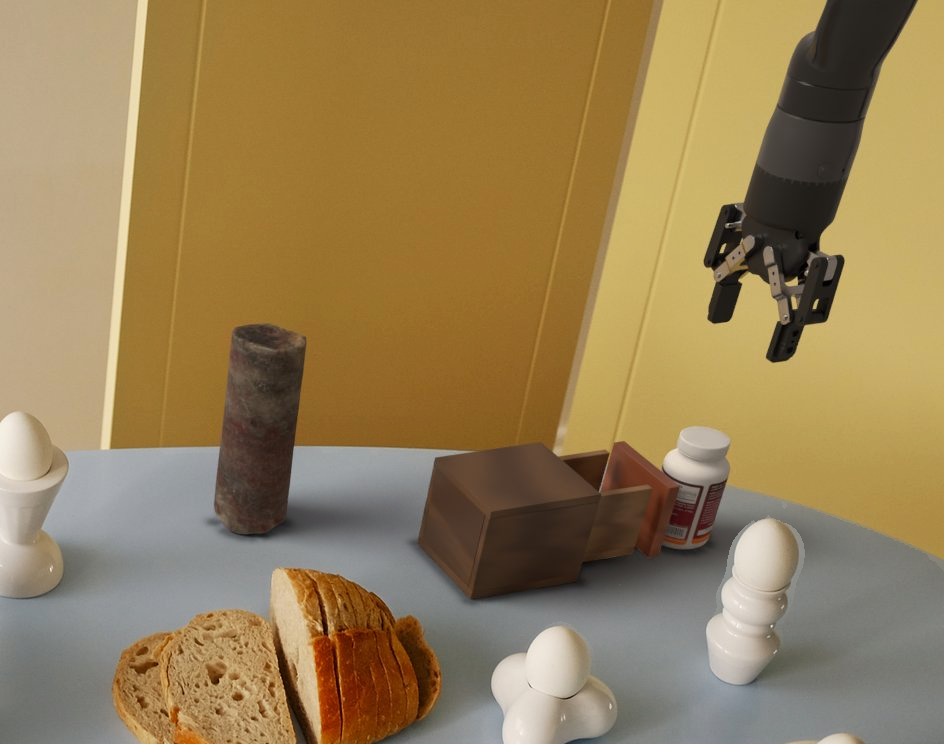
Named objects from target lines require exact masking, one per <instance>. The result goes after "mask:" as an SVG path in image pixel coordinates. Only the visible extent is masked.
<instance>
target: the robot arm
mask: <svg viewBox="0 0 944 744" xmlns="http://www.w3.org/2000/svg"><path fill="white" fill-rule="evenodd" d="M918 2H919V0H826V1H825V5H824V7H823V9H822V12H821V15H820V17H819V19H818V22H817V24H816V26H815V29H814V30H813V31H810V32H808V33H806V34H805V35H804V36H803V37H801V39H799V41H798V42H797V44H796V46H795V48H794V50H793V52H792V55H791V57H790V60H789V63H788V67H787V71H786V73H785V76H784V80H783V83H782V86H781V89H780V93H779V96H778V100H777V103H776V105H775V108H774V110H773V112H772V115H771V116H770V119H769V122H768V124H767V126H766V129H765V131H764V134H763V137H762V141H761V144H760V146H759V147H760V148H759V151H758V154H757V157H756V160H755V164H754V167H753V170H752V173H751V177H750V180H749V184H748V186H747V190H746V193H745V197H744V200H743V202H734V203H728V204H723V205H722V206H721V208H720V210H719V213H718V216H717V219H716V222H715V225H714V228H713V231H712V233H711V237H710V238H709V242H708V245H707V248H706V251H705V254H704V257H703V266H704V267H705V268H706V269H710V268H711V270H712V272H713V274H712V275H713V276H712V277H713V280H714V282H715V283H714V287H713V290H712V293H711V297H710V301H709V303H708V306H707V307H708V309H707V316H706V318H707V321H709V322H710V323H712V324H713V325H716V324H724V323H729V322H730V321H731V320H732V318H733V316H734V312H735V310H736V306H737V303H738V300H739V297H740V293H741V290H742V286H743V283H742V282H740V281H739V280H741V279H743V278H744V277H745V276H747V275H748V274H749V273H750V274H751V275H755V276H759V277H760V279H761V280H762V281H763V282H765V283H766V284H767V285H769V288H770V294H771V298H772V299H774V300H775V301H776V302H777V303H776V304H777V308H778V309H777V310H778V317H779V320H777V321H776V325H775V326H774V329H773V333H772V336H771V339H770V342H769V345H768V348H767V351H766V354H765V359H766V360H767V361H769V362H770V363H772V364H775V363H783V362H787V361H789V360H790V359H791V358H793V357H794V355H795V354H796V352H797V349H798V346H799V343H800V340H801V337H802V334H803V332H804V330H805V326H810V325H811V326H812V325H818V324H824V323H827V321H828V320H829V317H830V313H831V310H832V308H833V307H832V306H833V303H834V300H835V296H836V293H837V290H838V286H839V283H840V280H841V277H842V272H843V269H844V266H845V262H846V261H845V260H846V259H845V257H844V255H842V254H834V255H829V254H827V253H825V252H823V251H821V238H822V237H821V236H822V234H823V233H824V232H825V231H826V229H827V228H829V227H830V225H831V224H832V223H833V222H834V221H835V218H836V216H837V213H838V209H839V207H840V204H841V201H842V198H843V195H844V192H845V189H846V186H847V184H848V181H849V177H850V174H851V171H852V169H853V165H854V162H855V159H856V156H857V153H858V150H859V147H860V144H861V141H862V140H861V139H862V135H863V131H864V130H863V129H864V124H865V120H866V118H867V114H868V110H869V107H870V105H871V101H872V99H873V96H874V93H875V90H876V88H877V84H878V81H879V78H880V76H881V75H880V74H881V71H882V67H883V64H884V62H885V60H886V59H887V57H888V55H889V54H890V52H891V50H892V49H893V48H894V46H895V44H896V42H898V40H899V38H900V35H901V34H902V32H903V30H904V28H905V26H906V24H907V22H908V21H909V19H910V17H911V15H912V13H913V12H914V9H915V8H916V6H917V4H918ZM723 246H724V249H723V252H721V250H722V248H723ZM795 279H797V285H790V286H789V285H787V283H791V282H792V281H794V280H795ZM792 298H795V302H796V308H793V307H794V306H793V301H792ZM816 301H817V304H816V308H814V305H815V302H816Z"/></svg>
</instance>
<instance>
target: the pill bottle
mask: <svg viewBox="0 0 944 744" xmlns="http://www.w3.org/2000/svg"><path fill="white" fill-rule="evenodd" d="M731 443H732V442H731V438H730V437H729V436H728V435H727V434H726V433H725V432H723V431H720V430H719V429H716V428H713V427H710V426H709V427H708V426H702V425H700V426H699V425H693V426H688V427H685V428H683V429H682V430H681V431H680V433H679V436H678V439H677V441H676V447H675V448H673V449H671V450H670V451H669V452H668V453H667V454H666V455H665V457H664V459H663V463H662V465H661V469H660V471H662V472H663V473H664V474H665V475H667V476H668V477H669V478H670V479H672V480H673V481H674V482H675V483H676V484H678V485H679V486H680V489H679V492H678V495H677V498H676V501H675V505H674V508H673V511H672V514H671V518H670V521H669V524H668V527H667V530H666V534H665V537H664V540H663V543H662V546H663V547H666V548H670V549H673V550H694V549H698V548H700V547H702V546H704V545H705V544H706V543H707V542H708V541H709V539H710V536H711V534H712V530H713V527H714V524H715V521H716V517H717V514H718V511H719V507H720V504H721V501H722V499H723V495H724V492H725V490H726V489H725V488H726V486H727V483H728V479H729V475H730V473H731V465H730V462H729V460H728V458H727V455H728V452H729V450H730V446H731Z"/></svg>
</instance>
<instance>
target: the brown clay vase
mask: <svg viewBox="0 0 944 744" xmlns="http://www.w3.org/2000/svg"><path fill="white" fill-rule="evenodd" d="M229 346H230V347H229V359H228V368H227V379H226V389H225V399H224V408H223V417H222V426H221V437H220V444H219V452H218V460H217V469H216V479H215V489H214V500H213V501H214V502H213V509H214V514H215V517H217V518H218V520H219V521H220V522H221V523H222V524H223V525H224V526H225V527H226V528H227V529H228V531H230V532H232V533H234V534H238V535H252V534H266V533H267V532H269V531H271V530H272V529H273V528H276V527H277V526H278V525H280V524H282V523H283V522H284V521H285V518H286V516H287V511H288V503H289V494H290V487H291V478H292V469H293V461H294V460H293V459H294V448H295V442H296V434H297V426H298V425H297V424H298V417H299V409H300V402H301V391H302V385H303V377H304V369H305V361H306V360H305V359H306V351H307V336H306V335H304V334H299V333H298V332H295V331H293V330H287V329H285V328H283V327H280V326H278V325H277V324H273V323H269V322H261V323H253V324H252V323H250V324H244V325H240V326H236V327H234V328H233V329H232V331H231V339H230V345H229Z"/></svg>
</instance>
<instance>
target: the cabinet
mask: <svg viewBox="0 0 944 744" xmlns="http://www.w3.org/2000/svg"><path fill="white" fill-rule="evenodd" d="M558 456H559V455H557V454H556V453H555V452H553V451H552V449H550V448H549V447H548V446H546V445H545V444H544V443H543V442H541V441H537V442H530V443H523V444H518V445H511V446H505V447H504V446H503V447H497V448H490V449H484V450H477V451H470V452H462V453H457V454H456V453H455V454H450V455H449V454H448V455H442V456H435V457H434V460H433V466H432V471H431V475H430V480H429V485H428V490H427V495H426V499H425V504H424V509H423V514H422V519H421V524H420V528H419V533H418V537H417V542H416V544H417V545H418V546H419V547H420V548H421V549H422V550H423V552H425V553H426V555H428V556H429V558H431V560H433V562H434V563H435V564H436V565H437V566H438V567H439V568H440V569H441V570H442V572H444V573H445V574H446V575H447V576H448V577H449V579H450V580H452V582H453V583H454V584H455V585H456V586H457V587H458V588H459V589H460V590H461V591H462V592H463V593H464V594H465V595H466V597H468V599H469V600H475V599H481V598H487V597H492V596H499V595H504V594H512V593H516V592H517V593H518V592H523V591H528V590H535V589H541V588H546V587H552V586H558V585H564V584H570V583H577V582H578V580H579V576H580V575H579V574H580V572H581V569H582V565H583V563H584V562H583V558H584V555H585V551H586V547H587V544H588V540H589V537H590V533H591V530H592V526H593V522H594V519H595V515H596V512H597V508H598V505H599V501H600V498H601V493H599V492H600V491H599V492H598V491H597V490H596V489H595V488H594V487H592V486H591V485H590V484H589V483H588V482H587V481H586V480H584V479H583V478H582V477H581V476H580V475H579V474H577V473H576V472H575V471H574V470H573V469H572V468H571V467H569V466H568V465H567V464H566V463H565V462H564V461H562V460H561V459H560V458H559V457H558Z"/></svg>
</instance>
